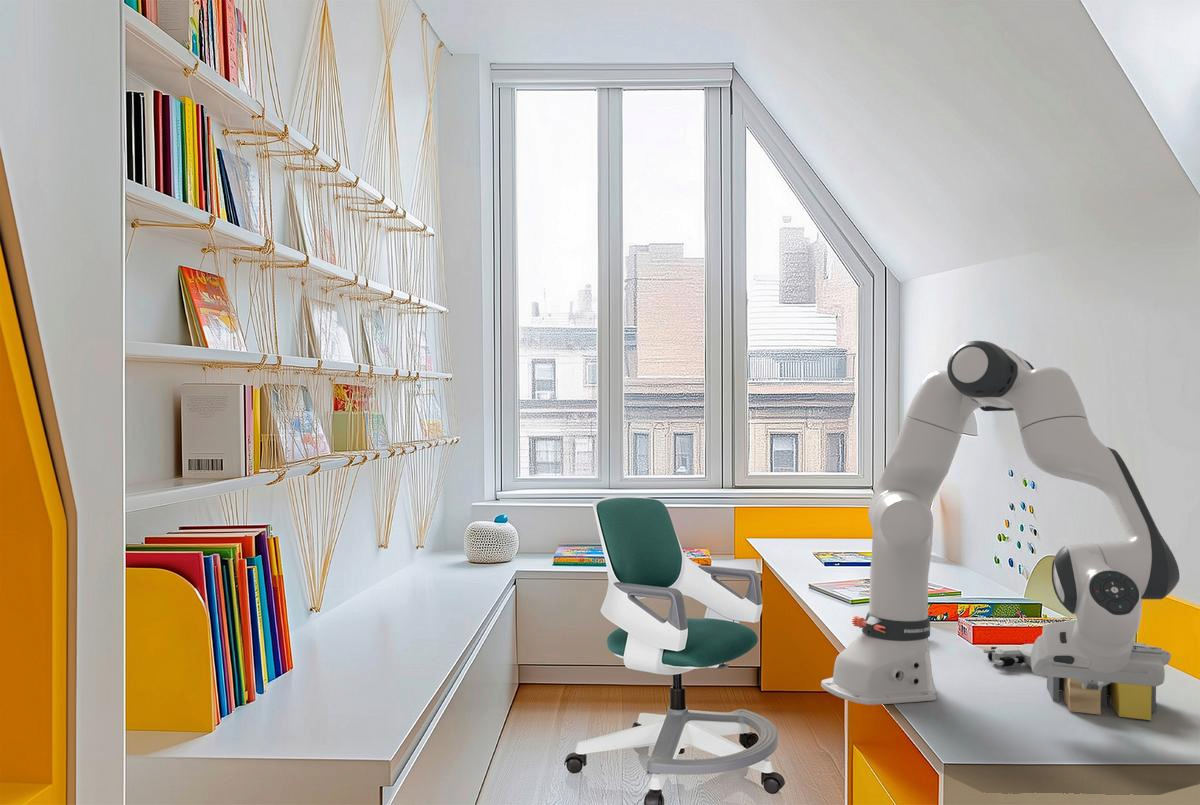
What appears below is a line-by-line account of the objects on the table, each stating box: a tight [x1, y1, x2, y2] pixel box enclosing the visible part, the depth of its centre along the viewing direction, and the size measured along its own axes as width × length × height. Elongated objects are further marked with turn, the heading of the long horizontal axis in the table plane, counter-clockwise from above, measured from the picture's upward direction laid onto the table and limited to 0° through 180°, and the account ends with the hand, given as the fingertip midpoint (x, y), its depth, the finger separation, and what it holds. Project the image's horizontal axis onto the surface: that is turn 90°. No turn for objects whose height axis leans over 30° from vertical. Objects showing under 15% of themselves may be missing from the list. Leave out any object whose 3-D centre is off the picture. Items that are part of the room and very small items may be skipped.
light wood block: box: [1062, 678, 1102, 715], centre depth 169 cm, size 8×5×8 cm, turn 160°
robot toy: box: [982, 643, 1034, 669], centre depth 195 cm, size 12×4×15 cm
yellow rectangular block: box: [1110, 682, 1152, 721], centre depth 166 cm, size 8×5×8 cm, turn 160°
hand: (1091, 686), depth 161 cm, fingers closed
